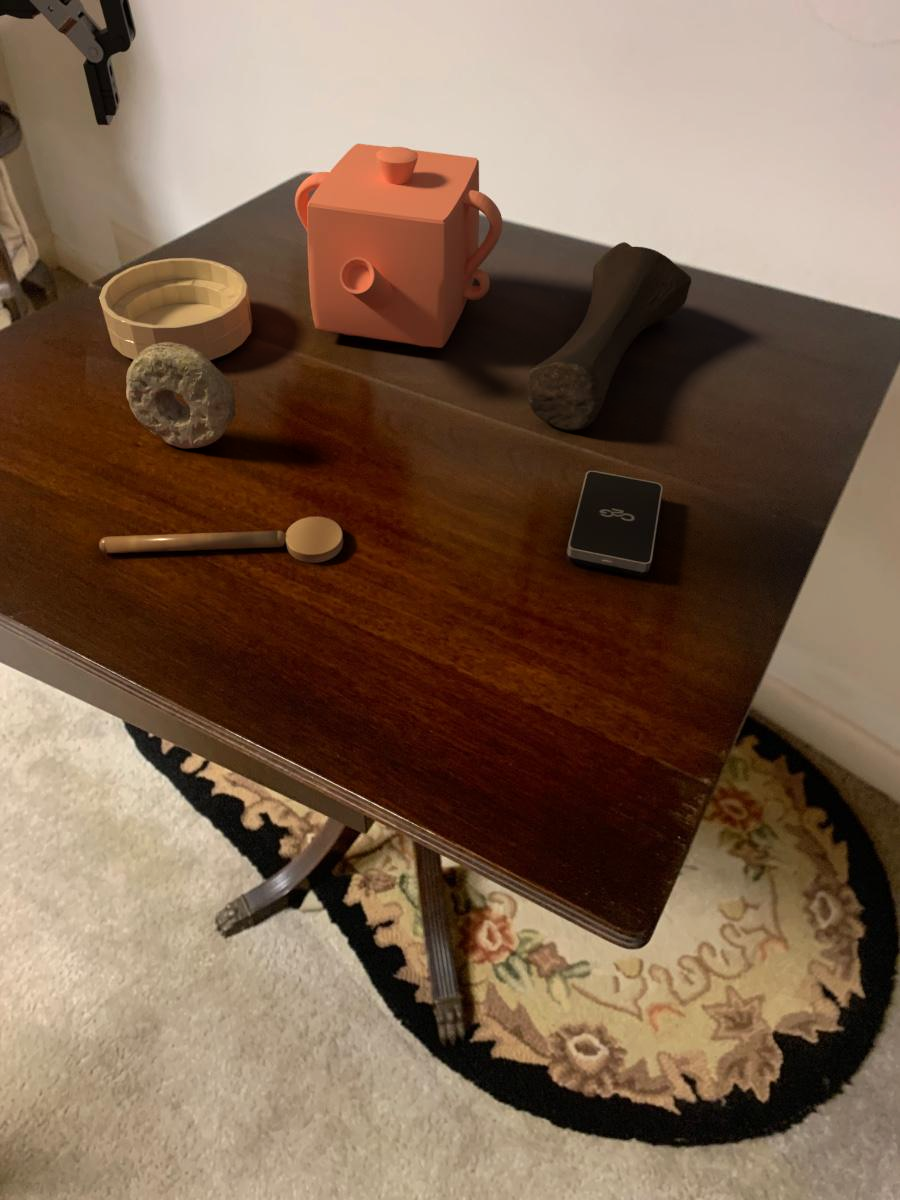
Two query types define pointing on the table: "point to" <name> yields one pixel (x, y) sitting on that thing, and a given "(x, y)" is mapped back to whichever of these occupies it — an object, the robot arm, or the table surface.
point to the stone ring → (191, 379)
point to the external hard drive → (615, 523)
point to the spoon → (242, 541)
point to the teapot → (395, 243)
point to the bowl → (177, 307)
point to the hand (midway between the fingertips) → (40, 120)
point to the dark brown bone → (606, 333)
